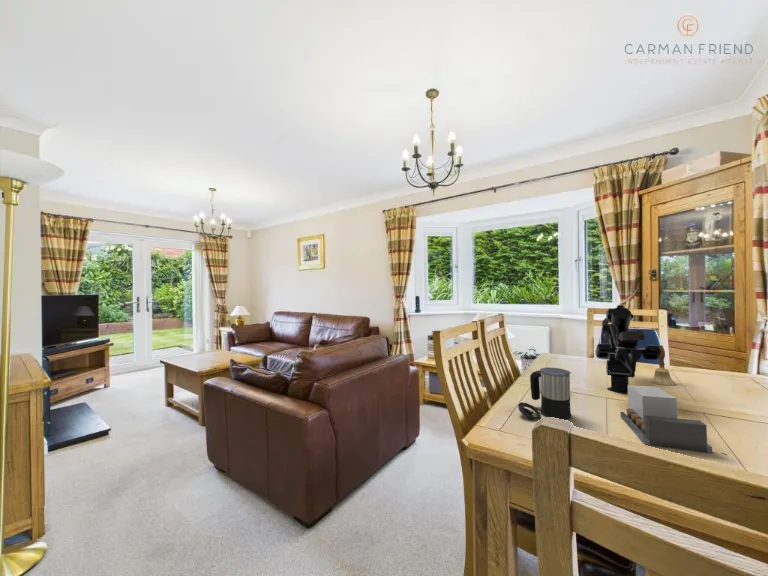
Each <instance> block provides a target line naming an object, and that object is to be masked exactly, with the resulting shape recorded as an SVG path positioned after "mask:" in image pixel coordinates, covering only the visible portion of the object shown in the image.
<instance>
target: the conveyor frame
mask: <svg viewBox="0 0 768 576" xmlns="http://www.w3.org/2000/svg"><path fill="white" fill-rule="evenodd" d="M620 418H621V419H622V420H623V422H624V423H625V424H626V425H627V426H628V427H629V429H630V430H631V431H632V432H633V433H634V434H635V436H637V438H638V439H639V440H640V441H641V443H642V444H643V445H644V444H645V445H644V446H649V447H657V448H665V449H675V450H683V451H691V452H701V453H707V454H713V446H711V444H709V443H708V436H707V435H708V433H707V429H708V428H707V424H705V422H703V421H701V419H700V420H699V419H697V420H696V419H689V418H688V419H687V418H678V417H677V418H667V417H656V416H646V415H644V430H645V435H644V434H643V432H642V430H640V429H639V428H638V427H637V425H636V424H634V423H633V422H632V419H630V418H629V417H628V416H627V413H626V412H624V411H620Z"/></svg>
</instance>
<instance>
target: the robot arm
mask: <svg viewBox="0 0 768 576" xmlns="http://www.w3.org/2000/svg"><path fill="white" fill-rule="evenodd" d="M605 315H606V316H605V318H604V319H603V320H602V321H601V334H603V336H604V338H605V340H608V342H609V343H598V344H597V345H596V348H595V355H596V356H595V357H596V358H600V359H601V358H602V359H605V358H606V375H607V376H610V386H609V387H607V388H606V389H607V390H608V391H613V392H616V393H621V394H624V395H625V394H628V385H630V384H629V382H630V381H629V378H635V377H636V376H635V375H636V374H635V373H636V369H637V362H638V361H640V359H641V357H642V358H643V359H645V360H649V361H650V360H651V361H652V360H653V361H655V360H659V358H658V357H659V356H660V354H661V352H662V350H661V348H660V347H659V344H658V345H657V344H645V345H644V346H643V348H642V347H638V342H640V341H644V340H645V339H646V336H645V332H644V330H643V329H642V330H638V329H637V330H636V331H630V328H629V327H630V325H631V320H632V319H634V314H632V312H631V310H630V309H629V308H628V307H624V305H621V304H620V305H619V304H618V305H617V306H616V307H615V308H614V307H613V308H611V307H610V308H608V309H607V310H606V312H605ZM607 358H608V359H607Z"/></svg>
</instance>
